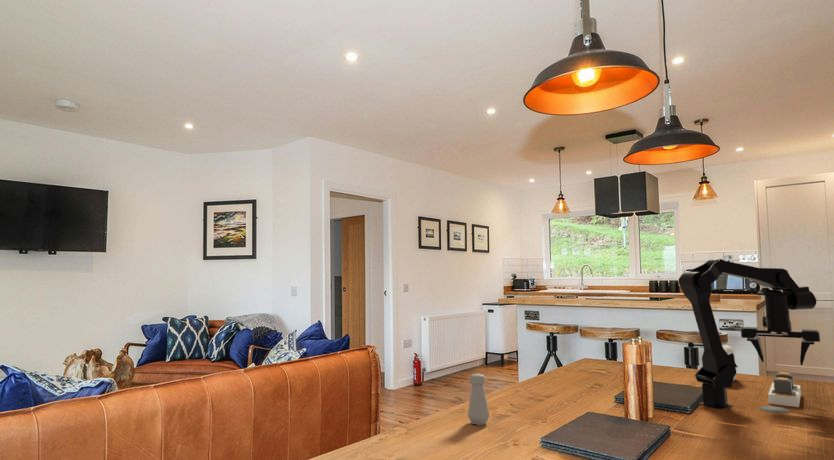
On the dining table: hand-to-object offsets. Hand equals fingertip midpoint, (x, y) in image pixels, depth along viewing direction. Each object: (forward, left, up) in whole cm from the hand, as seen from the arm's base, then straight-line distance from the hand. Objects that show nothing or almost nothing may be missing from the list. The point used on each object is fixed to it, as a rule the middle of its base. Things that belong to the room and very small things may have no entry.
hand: (781, 363), depth 146 cm
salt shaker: (-88, +29, -12) cm, 93 cm away
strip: (+11, +5, -11) cm, 17 cm away
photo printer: (+14, +26, -12) cm, 32 cm away
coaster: (-11, -3, -12) cm, 16 cm away
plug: (0, 0, -11) cm, 11 cm away
